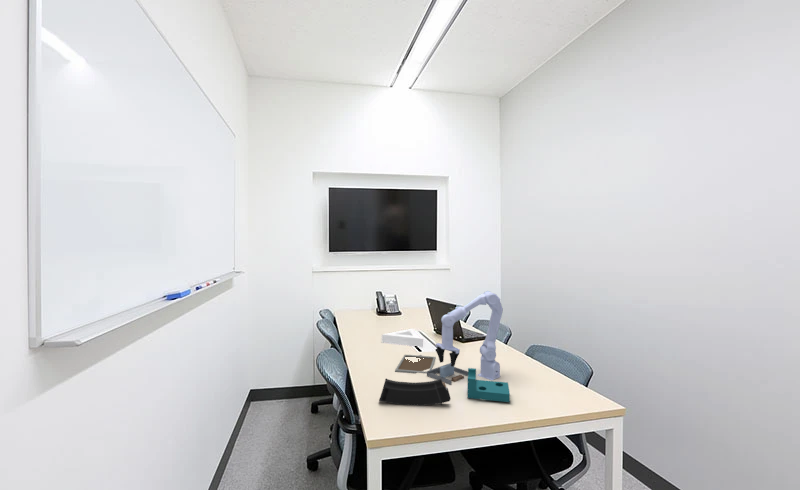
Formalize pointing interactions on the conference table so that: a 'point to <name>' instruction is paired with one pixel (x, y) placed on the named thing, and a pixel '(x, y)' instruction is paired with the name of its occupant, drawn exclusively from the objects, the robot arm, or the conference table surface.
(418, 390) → the magazine
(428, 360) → the picture frame
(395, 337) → the triangle block
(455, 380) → the offcut top
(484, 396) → the teal l-shaped bracket
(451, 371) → the panel
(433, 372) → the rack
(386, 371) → the conference table surface
